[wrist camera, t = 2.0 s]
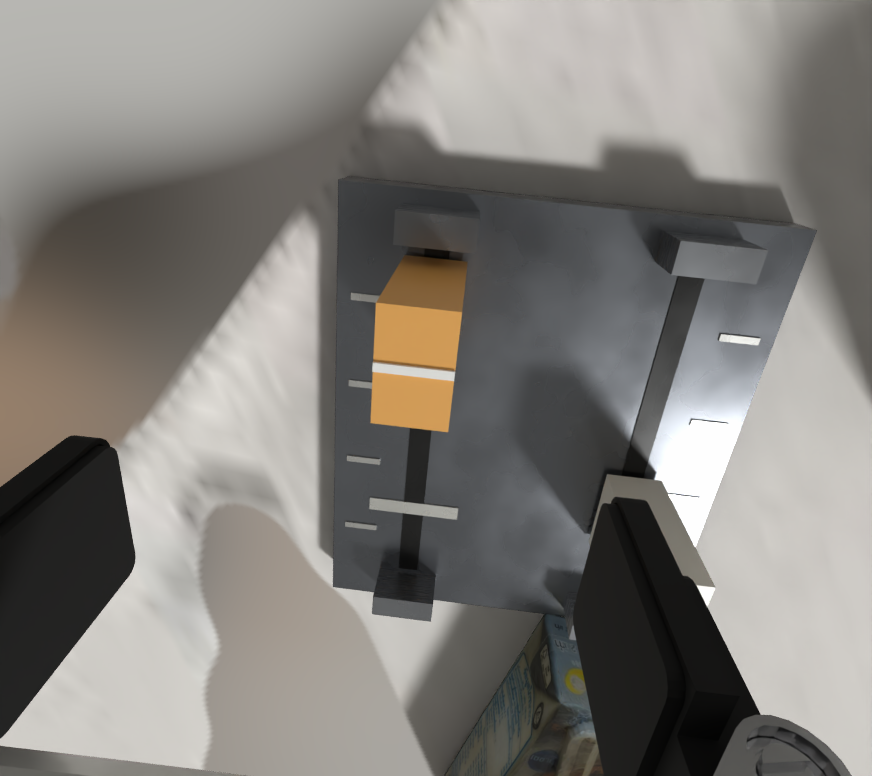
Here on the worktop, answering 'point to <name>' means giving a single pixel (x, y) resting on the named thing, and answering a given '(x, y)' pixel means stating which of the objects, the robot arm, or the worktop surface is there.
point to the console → (543, 383)
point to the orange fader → (417, 343)
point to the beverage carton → (536, 715)
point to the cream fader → (661, 525)
